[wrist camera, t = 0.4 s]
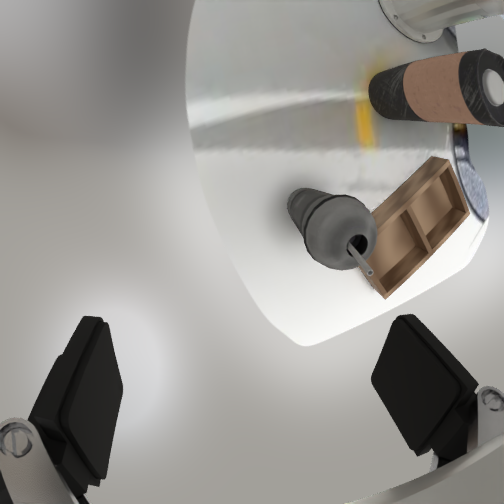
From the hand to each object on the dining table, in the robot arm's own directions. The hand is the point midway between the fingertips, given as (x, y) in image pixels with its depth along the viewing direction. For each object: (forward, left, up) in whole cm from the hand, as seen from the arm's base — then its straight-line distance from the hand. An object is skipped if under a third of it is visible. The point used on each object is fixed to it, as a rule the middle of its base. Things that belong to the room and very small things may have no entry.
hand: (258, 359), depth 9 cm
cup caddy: (-18, +22, -30) cm, 41 cm away
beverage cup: (-7, +9, -30) cm, 32 cm away
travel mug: (-27, +5, -30) cm, 41 cm away
